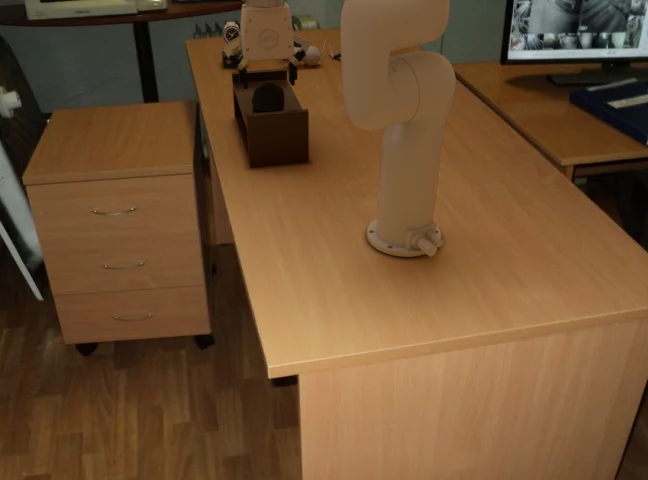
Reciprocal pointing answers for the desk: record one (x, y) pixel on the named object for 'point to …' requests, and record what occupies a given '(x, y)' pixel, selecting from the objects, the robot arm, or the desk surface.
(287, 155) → the shelf
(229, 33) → the watch
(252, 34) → the robot arm
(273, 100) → the gaming mouse
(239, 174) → the desk surface
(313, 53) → the clip-on lamp
